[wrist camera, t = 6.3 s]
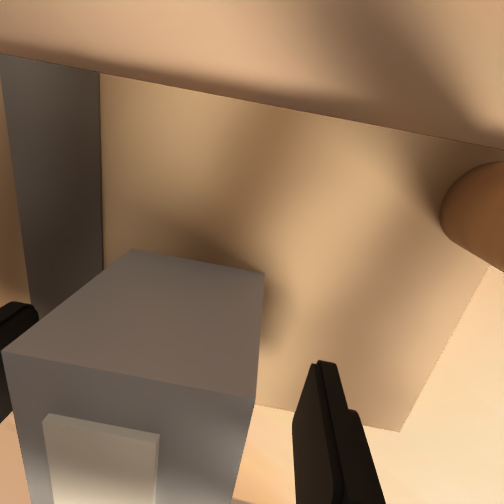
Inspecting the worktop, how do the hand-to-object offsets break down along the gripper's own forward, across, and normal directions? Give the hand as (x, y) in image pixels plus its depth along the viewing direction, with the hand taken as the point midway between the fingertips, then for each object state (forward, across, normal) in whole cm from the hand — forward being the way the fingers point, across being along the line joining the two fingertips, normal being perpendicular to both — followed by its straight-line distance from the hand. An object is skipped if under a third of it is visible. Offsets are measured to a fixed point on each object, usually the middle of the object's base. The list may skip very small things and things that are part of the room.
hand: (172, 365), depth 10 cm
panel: (+3, -1, -2) cm, 4 cm away
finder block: (+2, 0, 0) cm, 2 cm away
